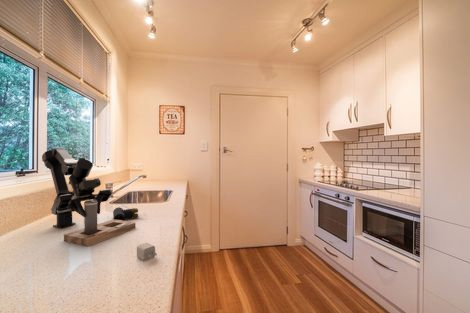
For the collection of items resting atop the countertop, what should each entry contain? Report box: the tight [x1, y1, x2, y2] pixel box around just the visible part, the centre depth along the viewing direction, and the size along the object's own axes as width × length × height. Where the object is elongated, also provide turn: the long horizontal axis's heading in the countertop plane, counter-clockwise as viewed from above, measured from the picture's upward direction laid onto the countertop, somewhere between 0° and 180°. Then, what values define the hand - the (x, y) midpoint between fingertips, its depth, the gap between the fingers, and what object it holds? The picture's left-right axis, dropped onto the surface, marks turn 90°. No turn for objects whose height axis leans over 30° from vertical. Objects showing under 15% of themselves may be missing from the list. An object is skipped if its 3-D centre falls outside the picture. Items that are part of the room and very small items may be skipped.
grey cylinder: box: [83, 200, 98, 235], centre depth 90 cm, size 5×5×13 cm
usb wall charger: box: [136, 242, 158, 262], centre depth 73 cm, size 4×7×4 cm, turn 51°
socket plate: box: [63, 218, 136, 247], centre depth 95 cm, size 14×22×3 cm, turn 158°
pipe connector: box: [112, 207, 139, 221], centre depth 117 cm, size 12×5×15 cm
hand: (92, 215), depth 90 cm, fingers open, 5 cm apart
